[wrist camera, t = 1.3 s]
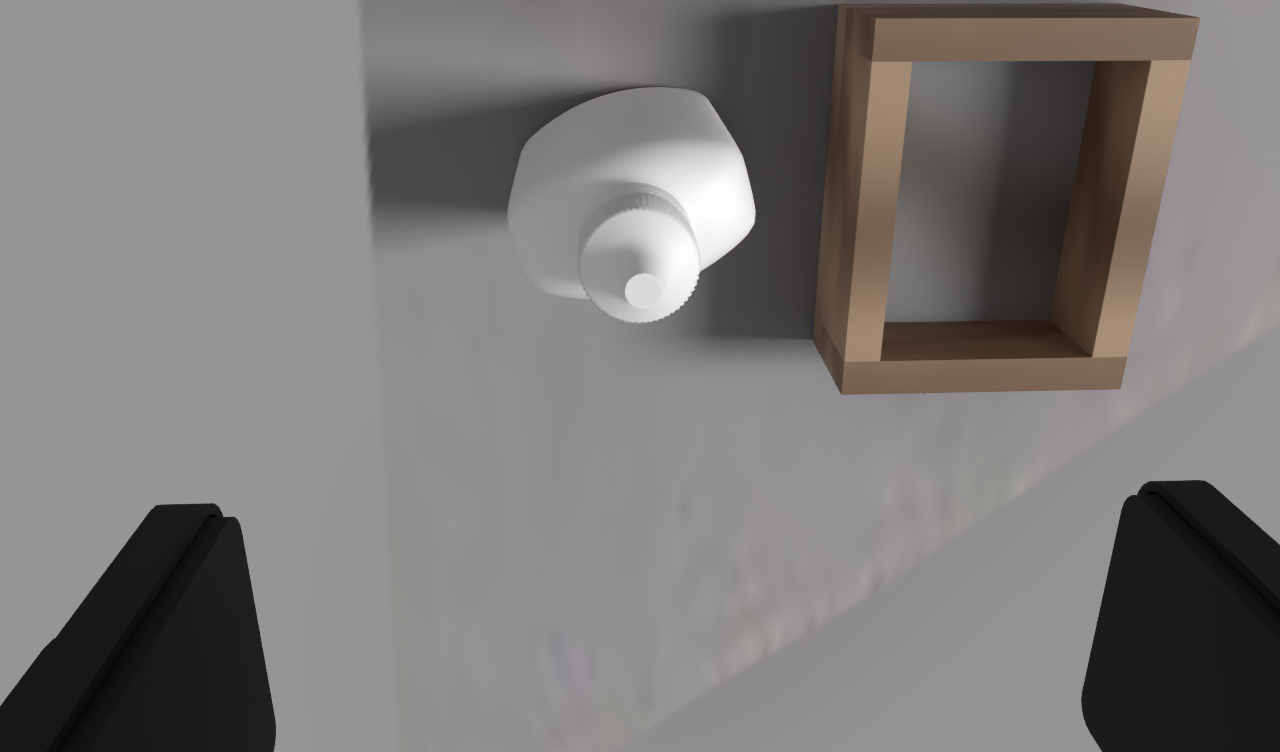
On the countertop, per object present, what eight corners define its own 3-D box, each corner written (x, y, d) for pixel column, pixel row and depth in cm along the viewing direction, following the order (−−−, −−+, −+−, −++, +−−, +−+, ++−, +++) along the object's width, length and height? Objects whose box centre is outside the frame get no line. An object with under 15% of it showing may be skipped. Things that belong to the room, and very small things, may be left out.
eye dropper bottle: (696, 242, 31) (757, 423, 20) (511, 203, 30) (471, 369, 19) (734, 97, 29) (824, 210, 18) (539, 51, 29) (513, 141, 18)
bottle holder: (838, 4, 28) (875, 18, 25) (1122, 4, 29) (1200, 18, 25) (812, 340, 33) (841, 394, 29) (1061, 336, 33) (1120, 389, 29)
